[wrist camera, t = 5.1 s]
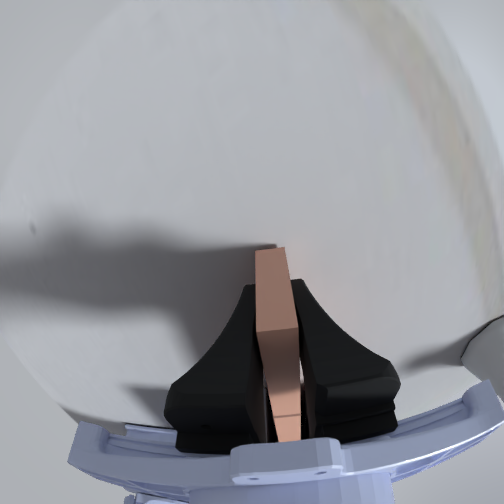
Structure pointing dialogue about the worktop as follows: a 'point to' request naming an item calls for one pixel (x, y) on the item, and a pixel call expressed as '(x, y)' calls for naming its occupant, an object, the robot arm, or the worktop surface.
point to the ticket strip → (278, 340)
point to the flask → (488, 356)
